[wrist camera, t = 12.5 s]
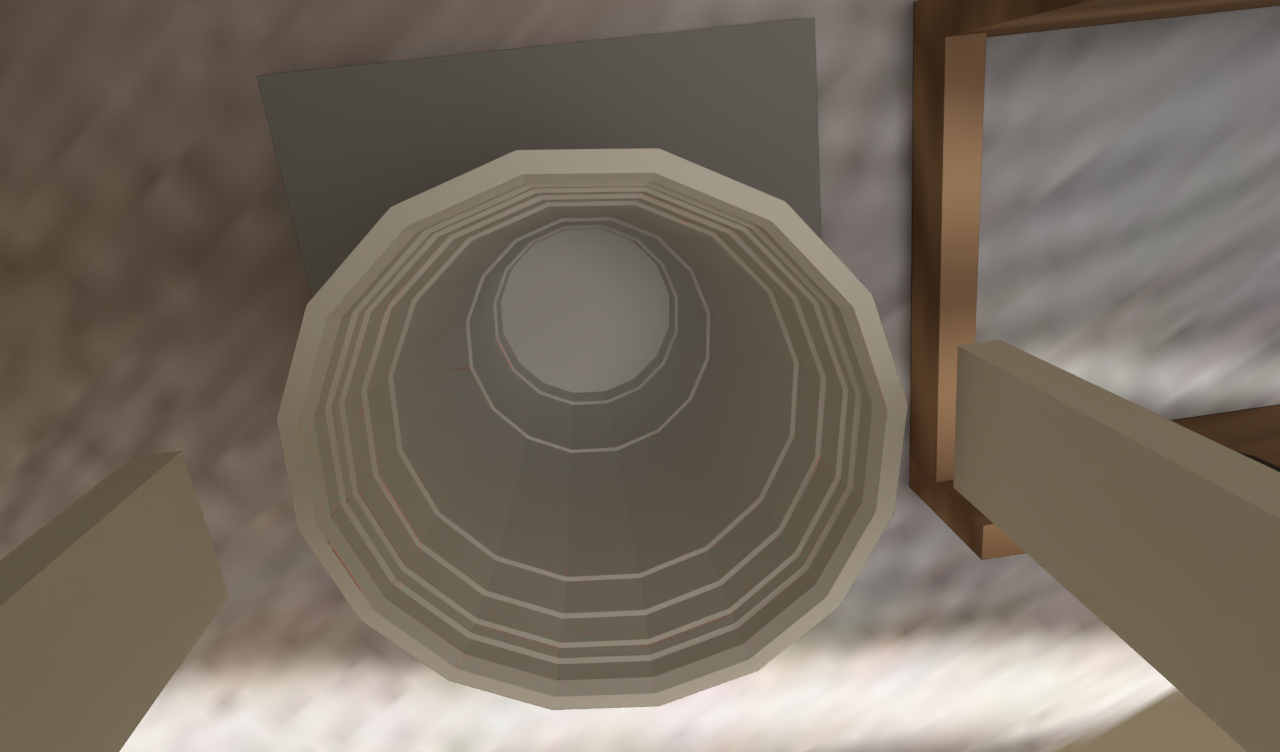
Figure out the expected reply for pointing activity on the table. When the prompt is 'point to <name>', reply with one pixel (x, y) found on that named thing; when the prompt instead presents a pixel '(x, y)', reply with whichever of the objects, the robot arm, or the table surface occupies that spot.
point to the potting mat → (542, 120)
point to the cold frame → (949, 231)
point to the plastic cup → (592, 428)
